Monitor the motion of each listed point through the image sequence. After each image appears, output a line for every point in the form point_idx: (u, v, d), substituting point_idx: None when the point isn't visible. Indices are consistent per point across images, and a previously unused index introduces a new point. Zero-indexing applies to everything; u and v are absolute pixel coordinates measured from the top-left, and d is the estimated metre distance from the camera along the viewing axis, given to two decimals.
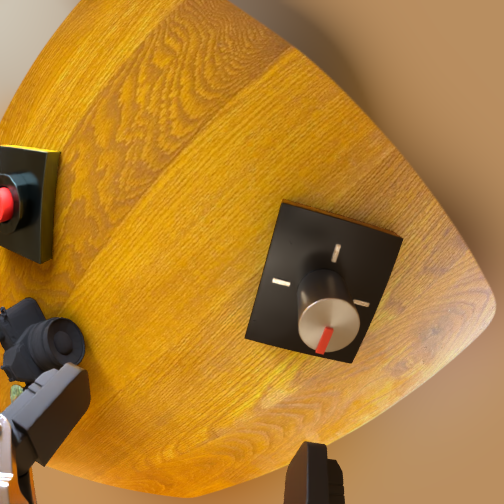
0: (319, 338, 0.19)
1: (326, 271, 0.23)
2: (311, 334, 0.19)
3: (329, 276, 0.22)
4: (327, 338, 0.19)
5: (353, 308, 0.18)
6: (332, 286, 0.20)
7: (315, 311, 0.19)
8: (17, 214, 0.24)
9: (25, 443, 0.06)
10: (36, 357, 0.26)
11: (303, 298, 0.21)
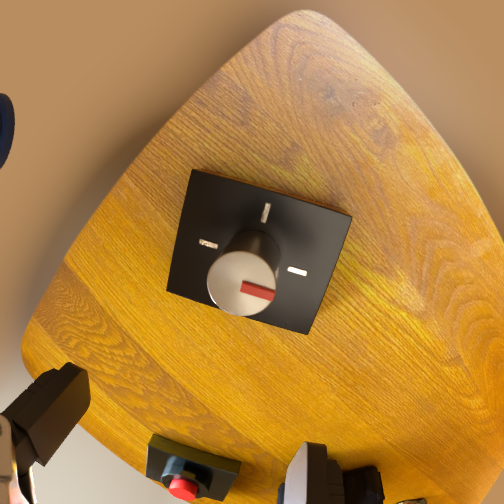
0: None
1: None
2: (251, 303, 0.18)
3: None
4: (252, 290, 0.17)
5: (218, 259, 0.17)
6: None
7: (222, 299, 0.18)
8: (190, 479, 0.30)
9: (25, 443, 0.06)
10: None
11: None
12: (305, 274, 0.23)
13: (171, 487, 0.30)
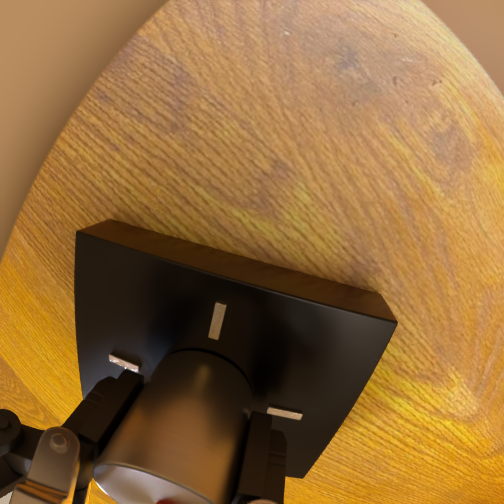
0: None
1: None
2: None
3: None
4: None
5: (99, 465, 0.06)
6: None
7: None
8: None
9: (91, 455, 0.06)
10: None
11: None
12: (299, 417, 0.11)
13: None
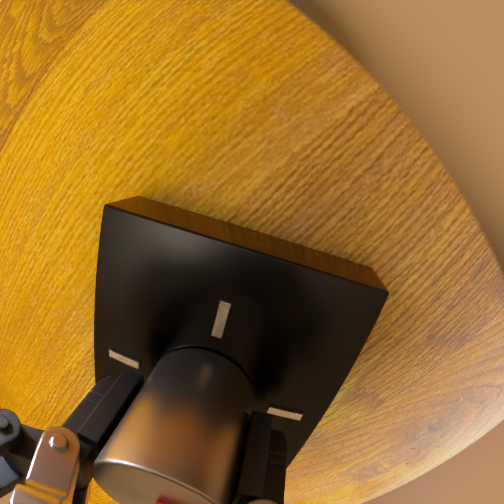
0: None
1: None
2: None
3: None
4: None
5: (98, 464, 0.06)
6: None
7: None
8: None
9: (91, 455, 0.06)
10: None
11: None
12: None
13: None
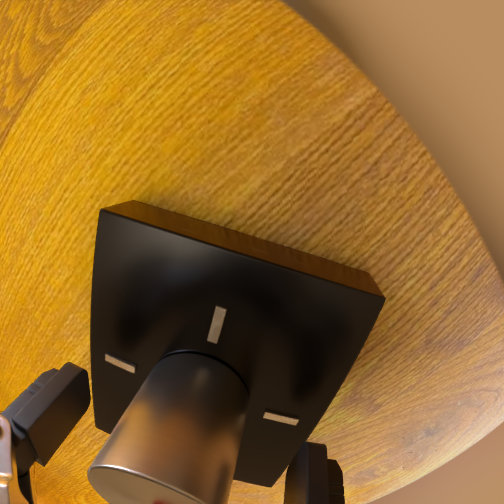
0: None
1: None
2: None
3: None
4: None
5: (94, 468, 0.06)
6: None
7: None
8: None
9: (25, 443, 0.06)
10: None
11: None
12: None
13: None
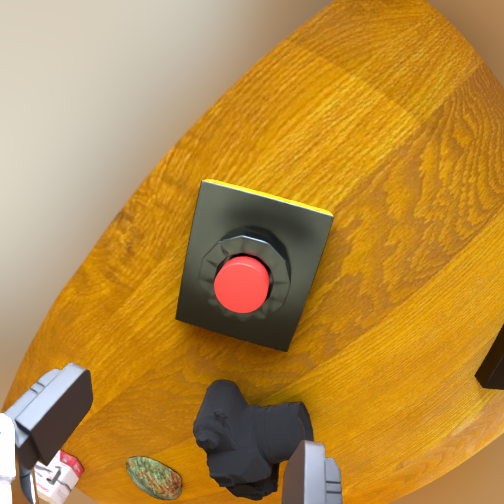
0: None
1: None
2: None
3: None
4: None
5: None
6: None
7: None
8: (280, 299, 0.22)
9: (28, 443, 0.06)
10: (273, 454, 0.24)
11: None
12: None
13: (258, 271, 0.20)
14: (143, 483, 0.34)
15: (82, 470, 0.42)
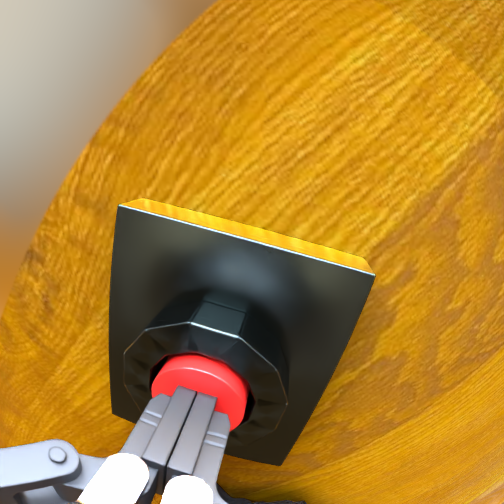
0: None
1: None
2: None
3: None
4: None
5: None
6: None
7: None
8: (267, 424, 0.11)
9: (155, 478, 0.07)
10: None
11: None
12: None
13: (227, 382, 0.10)
14: None
15: None
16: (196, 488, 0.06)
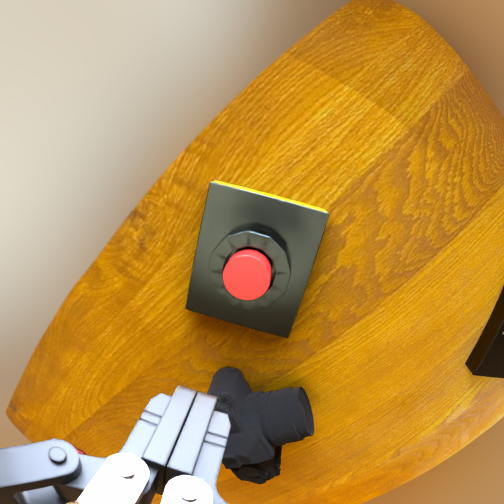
0: None
1: None
2: None
3: None
4: None
5: None
6: None
7: None
8: (281, 288, 0.25)
9: (155, 478, 0.07)
10: (276, 436, 0.27)
11: None
12: None
13: (262, 262, 0.23)
14: None
15: None
16: (196, 488, 0.06)
